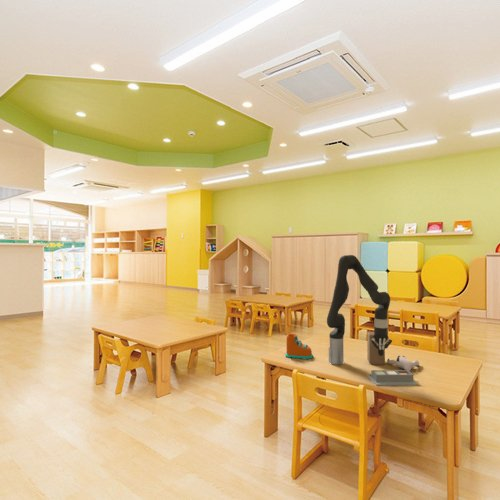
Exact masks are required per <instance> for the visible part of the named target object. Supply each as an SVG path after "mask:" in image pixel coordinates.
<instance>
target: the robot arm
mask: <svg viewBox="0 0 500 500" xmlns="http://www.w3.org/2000/svg"><path fill="white" fill-rule="evenodd" d="M337 266H338V267H337V275H336V280H335V285H334V286H335V287H334V290H333V296H332V298H331V299H332V300H331V303H330V308H329V311H328V313H327V317H326V324H327V326H328V328H330V329H333V330H332V331H330V333H329V347H328V362H329V364H330V363H331V364H330V365H337V366H340V365H344V335H345V331H346V329H345V328H346V318H345V316H344V315H343V314H342V313H339V312H340V309H341V308H342V306H343V305H344V304H345V303H346V302H347V300H348V298H349V291H350V287H349V283H348V280H347V277H348V271H349V270H353V271H354V272H355V273H356V274H357V276H358V280H359V282H360V285H361V286H362V287H363V289H364V290H365V291H366V292H367V293H368V295H369V298H370V299H371V301H372V302H373V303H374V304H375V305H377V306H378V307H376V308H375V309H374V323H373V332H374V336H373V339H370V341H371V343H372V344H373V345H374V347H375V348H377V349H378V354H379V356H383V354H384V349H385V350H386V349H388V347H389V346H390V345H391V344H392V342H393V340H392V339H391V338H390V337H389V335H388V334H389V320H388V313H389V312H388V311H389V307H390V304H391V297H390V294H389V293H388V292H387V291H378V289H379V285H378V284H377V283H376V282H375V281H374V280H373V278H371V276H370V275H369V274H368V273H367V270H366V269H365V268H364V266H363V265H362V263H361V262H360V260H359V259H358V257H357V256H356V255H353V254H348V255H347V254H345V255H342V256H340V257H339V260H338V265H337ZM375 341H376V342H377V345H376V344H375Z"/></svg>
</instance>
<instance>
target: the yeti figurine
mask: <svg viewBox="0 0 500 500" xmlns="http://www.w3.org/2000/svg"><path fill="white" fill-rule="evenodd" d="M396 357H397V358H396V360H395V359H390V358H387V360H386V363H387V364H388V365H395V366H397V367H398V368H399V369H401V370H408V371H409V372H410V373H411V371H412V370H411V369H413V368H414V367H419V366H420V362H419V361H418V360H413V361H410V360H409V359H407V358H406V356H405V355H402V357H401V356H400V355H398V356H396Z"/></svg>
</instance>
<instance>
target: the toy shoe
mask: <svg viewBox="0 0 500 500" xmlns="http://www.w3.org/2000/svg"><path fill="white" fill-rule="evenodd" d="M312 351H313V350H312V348H311V347H310V346H308V344H307V343H304V344H303V342H302V340H300V339H299V338H298V335H297V334H296V333H288V334H287V335H286V353H285V357H286V356H287V357H286V358H290V357H292V358H291V359H297V358H302V359H301V360H310V358H311V359H312V358H313V357H314V354H313V352H312Z"/></svg>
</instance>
